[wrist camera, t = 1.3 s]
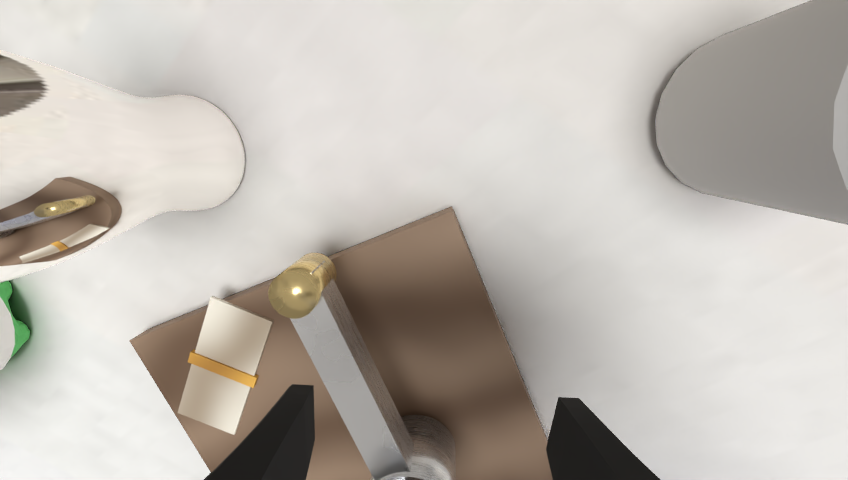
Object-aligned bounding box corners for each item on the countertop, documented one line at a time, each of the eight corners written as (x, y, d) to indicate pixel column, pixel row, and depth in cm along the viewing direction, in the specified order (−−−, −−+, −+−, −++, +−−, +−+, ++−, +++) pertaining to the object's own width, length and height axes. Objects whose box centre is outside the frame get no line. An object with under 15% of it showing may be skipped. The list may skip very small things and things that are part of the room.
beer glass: (222, 67, 21) (-297, -95, 6) (273, 196, 22) (-57, 300, 8) (108, 111, 22) (-569, 55, 7) (164, 232, 23) (-309, 383, 9)
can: (664, 213, 21) (919, 303, 10) (630, 69, 20) (884, -32, 8) (819, 164, 20) (1321, 199, 8) (796, 7, 19) (1366, -212, 7)
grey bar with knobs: (475, 470, 24) (482, 569, 18) (394, 494, 24) (377, 595, 19) (363, 226, 21) (331, 257, 15) (274, 263, 21) (214, 305, 16)
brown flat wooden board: (570, 497, 26) (579, 522, 24) (295, 571, 29) (285, 599, 27) (447, 196, 22) (447, 201, 20) (143, 320, 25) (119, 334, 23)
